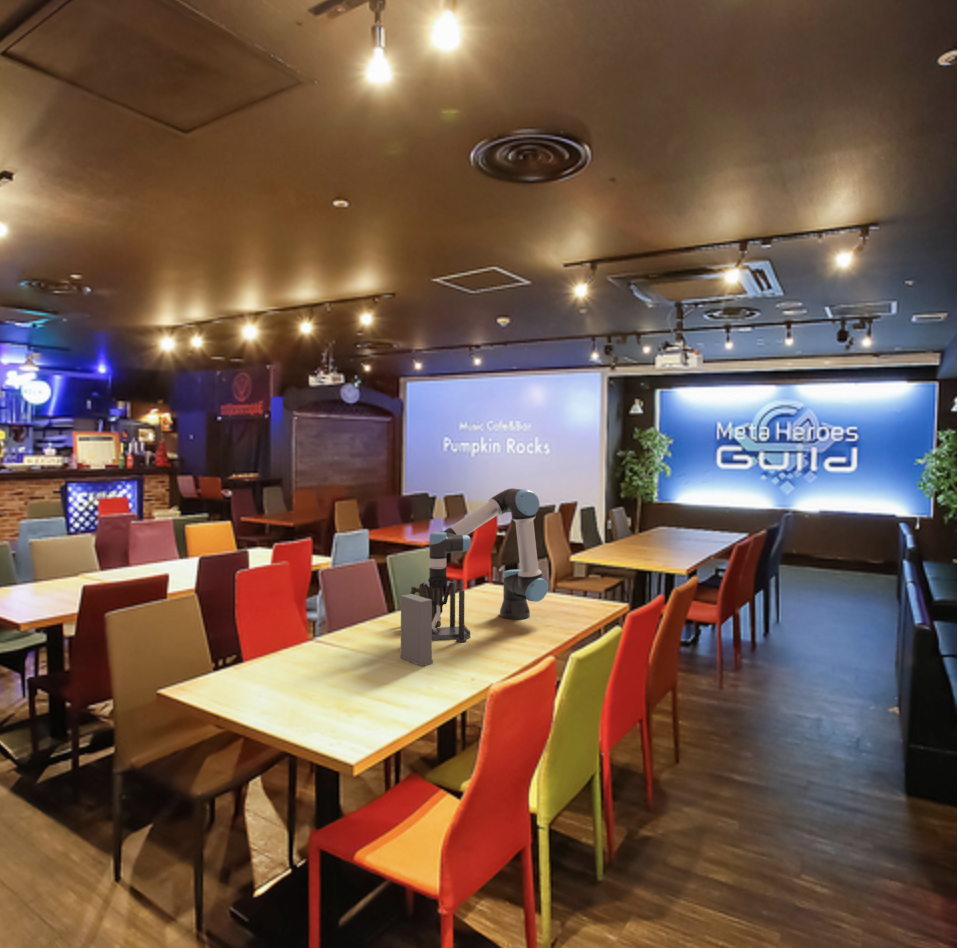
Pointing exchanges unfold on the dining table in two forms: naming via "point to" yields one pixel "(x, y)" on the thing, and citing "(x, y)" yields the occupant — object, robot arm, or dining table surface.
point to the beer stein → (423, 593)
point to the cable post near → (461, 617)
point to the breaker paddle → (434, 621)
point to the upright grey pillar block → (416, 629)
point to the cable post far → (452, 605)
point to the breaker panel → (449, 633)
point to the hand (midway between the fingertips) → (437, 620)
